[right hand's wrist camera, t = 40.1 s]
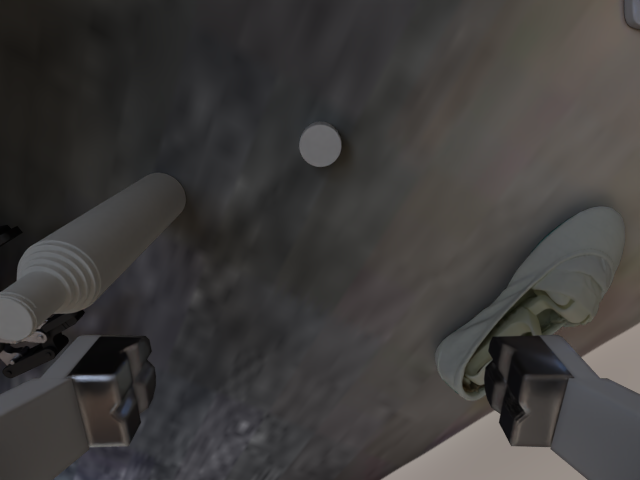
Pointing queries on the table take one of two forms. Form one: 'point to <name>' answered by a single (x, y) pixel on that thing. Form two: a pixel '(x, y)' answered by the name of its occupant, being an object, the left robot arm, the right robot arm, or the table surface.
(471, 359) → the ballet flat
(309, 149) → the cap
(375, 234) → the table surface
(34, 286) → the bottle
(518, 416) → the right robot arm
